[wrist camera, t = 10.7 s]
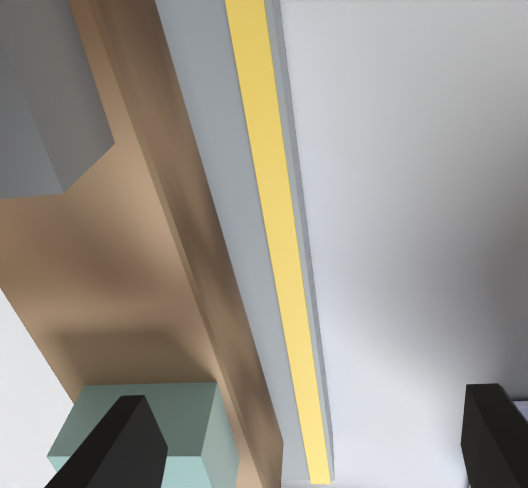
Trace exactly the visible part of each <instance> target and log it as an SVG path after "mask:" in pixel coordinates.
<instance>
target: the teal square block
mask: <svg viewBox="0 0 528 488" xmlns="http://www.w3.org/2000/svg"><path fill="white" fill-rule="evenodd" d="M125 395H145V397H146V399H147V401H148V403H149V406H150V408H151V410H152V412H153V415H154V417H155V419H156V421H157V424H158V426H159V428H160V430H161V432H162V435H163V437H164V439H165V441H166V444H167V446H168V453H167V459H166V464H165V470H164V475H163V480H162V485H161V488H236V482H237V475H238V468H239V461H240V457H239V453H238V450H237V446H236V443H235V440H234V436H233V433H232V429H231V426H230V423H229V419H228V416H227V413H226V409H225V406H224V402H223V399H222V396H221V392H220V389H219V385H218V382H199V383H162V384H125V385H88V386H84V387H83V389H82V391H81V393H80V395H79V397H78V398H77V400H76V402H75V404H74V406H73V408H72V410H71V412H70V414H69V415H68V417H67V419H66V421H65V423H64V425H63V427H62V429H61V430H60V432H59V434H58V436H57V438H56V440H55V442H54V444H53V446H52V447H51V449H50V451H49V453H48V455H47V458H48V459H49V461H50V462H51V464H52V465H53V467H54V468H55V470H56V471H57V472H58V471H59V470H60V469H61V467H62V466H63V465H64V464H65V463H66V461H67V460H68V459H69V458H70V457H71V456H72V454H73V453H74V452H75V451H76V450H77V448H78V447H79V446H80V445H81V443H82V442H83V441H84V440H85V439H86V437H87V436H88V435H89V434H90V432H91V431H92V430H93V429H94V428H95V426H96V425H97V424H98V423H99V421H100V420H101V419H102V418H103V417H104V415H105V414H106V413H107V412H108V410H109V409H110V408H111V407H112V406H113V404H114V403H115V402H116V401H117V400H118V399H119V397H120V396H125Z"/></svg>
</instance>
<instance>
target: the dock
mask: <svg viewBox="0 0 528 488" xmlns="http://www.w3.org/2000/svg"><path fill="white" fill-rule="evenodd" d="M155 2H156V6H157V9H158V13H159V16H160V19H161V23H162V26H163V30H164V33H165V37H166V40H167V43H168V47H169V50H170V54H171V57H172V61H173V64H174V67H175V71H176V74H177V78H178V81H179V85H180V88H181V92H182V95H183V98H184V102H185V105H186V109H187V112H188V116H189V119H190V122H191V126H192V129H193V133H194V136H195V140H196V143H197V146H198V150H199V153H200V157H201V160H202V164H203V167H204V171H205V174H206V177H207V181H208V184H209V188H210V191H211V195H212V198H213V201H214V205H215V208H216V212H217V215H218V219H219V222H220V225H221V229H222V232H223V236H224V239H225V243H226V246H227V249H228V253H229V256H230V260H231V263H232V267H233V270H234V274H235V277H236V280H237V284H238V287H239V291H240V294H241V298H242V301H243V304H244V308H245V311H246V315H247V318H248V322H249V325H250V328H251V332H252V335H253V339H254V342H255V346H256V349H257V353H258V356H259V359H260V363H261V366H262V370H263V373H264V377H265V380H266V383H267V387H268V390H269V394H270V397H271V401H272V404H273V407H274V411H275V414H276V418H277V421H278V425H279V428H280V432H281V435H282V438H283V442H284V445H283V460H282V476H281V480H311V484H331V480H335V479H334V451H333V433H332V425H331V417H330V408H329V400H328V392H327V384H326V376H325V368H324V360H323V351H322V343H321V335H320V327H319V319H318V311H317V303H316V294H315V286H314V278H313V270H312V262H311V254H310V245H309V237H308V229H307V221H306V213H305V205H304V197H303V188H302V180H301V172H300V164H299V156H298V148H297V140H296V131H295V123H294V115H293V107H292V99H291V91H290V82H289V74H288V66H287V58H286V50H285V42H284V34H283V25H282V17H281V9H280V1H279V0H155Z"/></svg>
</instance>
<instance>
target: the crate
mask: <svg viewBox="0 0 528 488" xmlns="http://www.w3.org/2000/svg"><path fill="white" fill-rule="evenodd" d="M114 144H115V141H114V138H113V135H112V132H111V129H110V126H109V123H108V120H107V117H106V114H105V110H104V107H103V104H102V101H101V98H100V95H99V92H98V89H97V86H96V83H95V80H94V77H93V74H92V70H91V67H90V64H89V61H88V58H87V55H86V52H85V49H84V46H83V43H82V40H81V37H80V34H79V30H78V27H77V24H76V21H75V18H74V15H73V12H72V9H71V6H70V3H69V0H0V199H8V198H19V197H30V196H41V195H52V194H63V193H65V192H66V191H67V190H68V189H69V188H70V187H71V186H72V185H73V184H74V183H75V182H76V181H77V180H78V179H79V178H80V177H81V176H82V175H83V174H84V173H85V172H86V171H87V170H88V169H90V168H91V167H92V166H93V165H94V164H95V163H96V162H97V161H98V160H99V159H100V158H101V157H102V156H103V155H104V154H105V153H106V152H107V151H108V150H109V149H110V148H111V147H112V146H113V145H114Z"/></svg>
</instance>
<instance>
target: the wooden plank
mask: <svg viewBox="0 0 528 488" xmlns="http://www.w3.org/2000/svg"><path fill="white" fill-rule="evenodd" d="M69 3H70V6H71V9H72V12H73V15H74V18H75V21H76V24H77V27H78V30H79V34H80V37H81V40H82V43H83V46H84V49H85V52H86V55H87V58H88V61H89V64H90V67H91V70H92V74H93V77H94V80H95V83H96V86H97V89H98V92H99V95H100V98H101V101H102V104H103V107H104V110H105V114H106V117H107V120H108V123H109V126H110V129H111V132H112V135H113V138H114V141H115V144H114V145H113V146H112V147H111V148H110V149H109V150H108V151H107V152H106V153H105V154H104V155H103V156H102V157H101V158H100V159H99V160H98V161H97V162H96V163H95V164H94V165H93V166H92V167H91V168H90V169H88V170H87V171H86V172H85V173H84V174H83V175H82V176H81V177H80V178H79V179H78V180H77V181H76V182H75V183H74V184H73V185H72V186H71V187H70V188H69V189H68V190H67V191H66V192H65V193H63V194H52V195H41V196H30V197H19V198H8V199H0V288H1V290H2V291H3V293H4V294H5V296H6V298H7V299H8V301H9V302H10V304H11V306H12V307H13V309H14V310H15V312H16V313H17V315H18V317H19V318H20V320H21V321H22V323H23V324H24V326H25V328H26V329H27V331H28V332H29V334H30V336H31V337H32V339H33V340H34V342H35V343H36V345H37V347H38V348H39V350H40V351H41V353H42V354H43V356H44V358H45V359H46V361H47V362H48V364H49V366H50V367H51V369H52V370H53V372H54V373H55V375H56V377H57V378H58V380H59V381H60V383H61V384H62V386H63V388H64V389H65V391H66V392H67V394H68V396H69V397H70V399H71V400H72V402H73V403H74V404H75V402H76V400H77V398H78V397H79V395H80V393H81V391H82V389H83V387H84V386H88V385H125V384H162V383H199V382H218V385H219V389H220V392H221V396H222V399H223V402H224V406H225V409H226V413H227V416H228V419H229V423H230V426H231V429H232V433H233V436H234V440H235V443H236V446H237V450H238V453H239V457H240V461H239V468H238V475H237V482H236V488H281V476H282V460H283V445H284V442H283V438H282V435H281V432H280V428H279V425H278V421H277V418H276V414H275V411H274V407H273V404H272V401H271V397H270V394H269V390H268V387H267V383H266V380H265V377H264V373H263V370H262V366H261V363H260V359H259V356H258V353H257V349H256V346H255V342H254V339H253V335H252V332H251V328H250V325H249V322H248V318H247V315H246V311H245V308H244V304H243V301H242V298H241V294H240V291H239V287H238V284H237V280H236V277H235V274H234V270H233V267H232V263H231V260H230V256H229V253H228V249H227V246H226V243H225V239H224V236H223V232H222V229H221V225H220V222H219V219H218V215H217V212H216V208H215V205H214V201H213V198H212V195H211V191H210V188H209V184H208V181H207V177H206V174H205V171H204V167H203V164H202V160H201V157H200V153H199V150H198V146H197V143H196V140H195V136H194V133H193V129H192V126H191V122H190V119H189V116H188V112H187V109H186V105H185V102H184V98H183V95H182V92H181V88H180V85H179V81H178V78H177V74H176V71H175V67H174V64H173V61H172V57H171V54H170V50H169V47H168V43H167V40H166V37H165V33H164V30H163V26H162V23H161V19H160V16H159V13H158V9H157V6H156V2H155V0H69Z"/></svg>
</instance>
